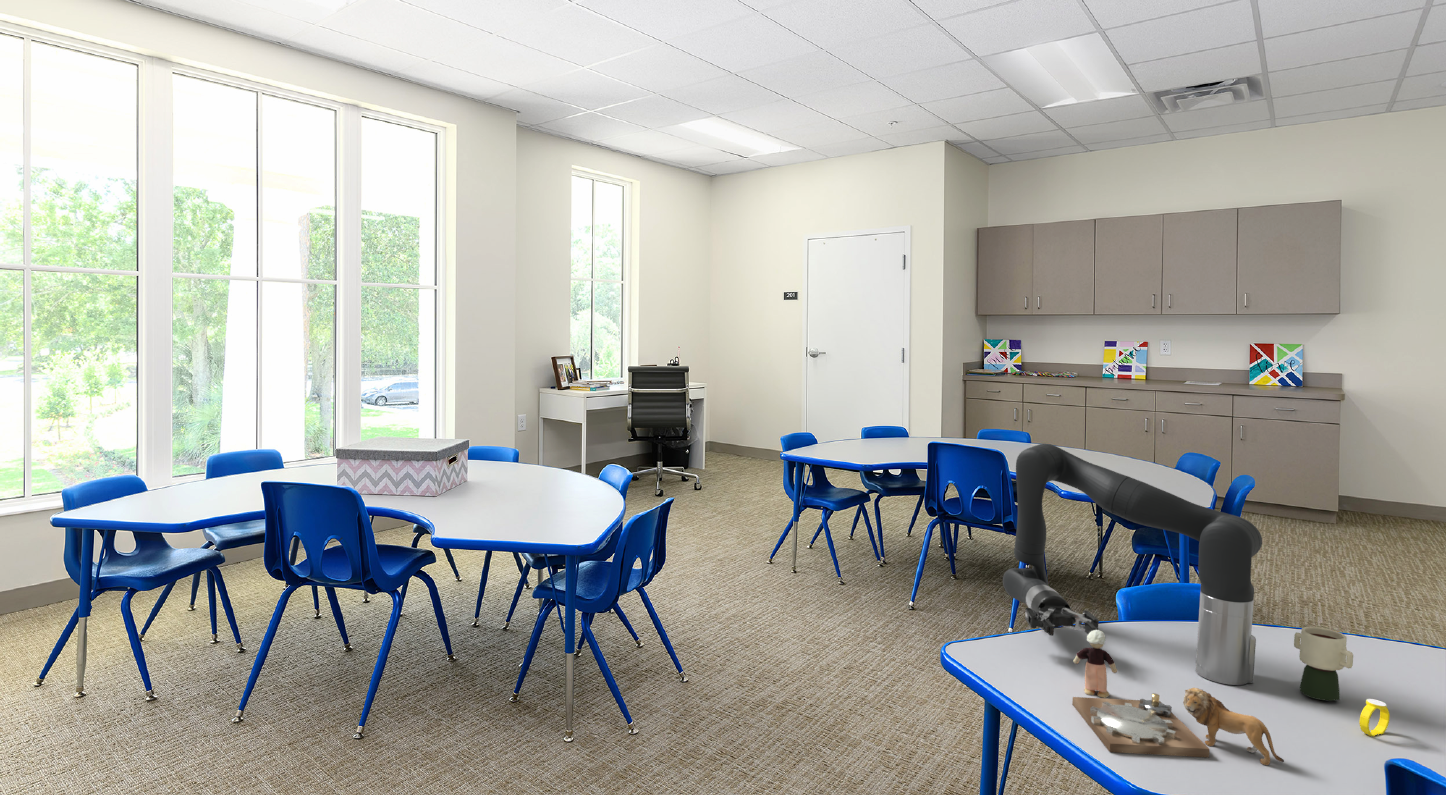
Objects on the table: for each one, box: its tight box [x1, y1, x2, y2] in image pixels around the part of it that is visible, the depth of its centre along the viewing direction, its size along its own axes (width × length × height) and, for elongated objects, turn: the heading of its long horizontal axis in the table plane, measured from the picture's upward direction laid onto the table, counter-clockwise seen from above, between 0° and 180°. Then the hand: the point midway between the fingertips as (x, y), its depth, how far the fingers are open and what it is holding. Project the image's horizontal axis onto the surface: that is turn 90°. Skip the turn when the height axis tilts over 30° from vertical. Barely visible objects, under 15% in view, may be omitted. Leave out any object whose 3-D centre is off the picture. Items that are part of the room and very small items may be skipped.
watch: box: [1358, 698, 1391, 737], centre depth 136 cm, size 6×3×6 cm, turn 110°
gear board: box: [1071, 696, 1210, 758], centre depth 137 cm, size 16×17×2 cm
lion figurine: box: [1182, 687, 1285, 766], centre depth 130 cm, size 15×5×9 cm, turn 51°
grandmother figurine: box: [1072, 629, 1118, 699], centre depth 150 cm, size 8×4×13 cm, turn 71°
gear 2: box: [1139, 692, 1173, 718], centre depth 141 cm, size 6×5×3 cm
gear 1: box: [1090, 702, 1176, 745], centre depth 135 cm, size 13×13×1 cm
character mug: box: [1293, 626, 1354, 701], centre depth 150 cm, size 11×7×13 cm, turn 17°
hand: (1073, 632), depth 162 cm, fingers open, 8 cm apart
